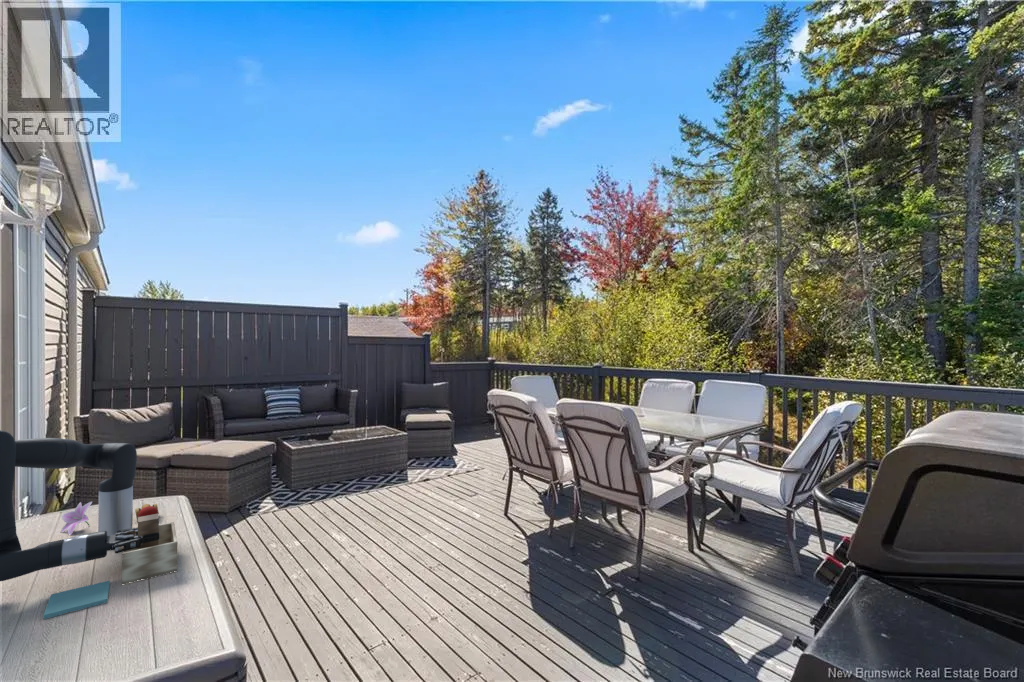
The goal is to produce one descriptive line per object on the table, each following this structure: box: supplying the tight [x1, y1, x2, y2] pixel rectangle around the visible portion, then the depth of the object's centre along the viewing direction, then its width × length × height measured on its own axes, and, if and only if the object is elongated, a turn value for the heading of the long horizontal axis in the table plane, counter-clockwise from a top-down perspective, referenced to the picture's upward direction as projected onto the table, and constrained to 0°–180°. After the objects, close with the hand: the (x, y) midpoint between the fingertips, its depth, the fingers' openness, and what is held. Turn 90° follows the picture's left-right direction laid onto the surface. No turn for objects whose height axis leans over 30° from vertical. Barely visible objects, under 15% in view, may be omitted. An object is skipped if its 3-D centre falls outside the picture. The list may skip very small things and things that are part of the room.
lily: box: [60, 501, 93, 535], centre depth 169 cm, size 12×12×10 cm
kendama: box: [134, 503, 160, 522], centre depth 181 cm, size 8×6×18 cm
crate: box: [121, 521, 178, 585], centre depth 142 cm, size 13×20×9 cm, turn 39°
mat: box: [43, 580, 111, 620], centre depth 123 cm, size 12×12×1 cm
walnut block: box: [137, 514, 160, 549], centre depth 142 cm, size 5×5×12 cm
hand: (158, 532), depth 143 cm, fingers closed on walnut block, 5 cm apart
